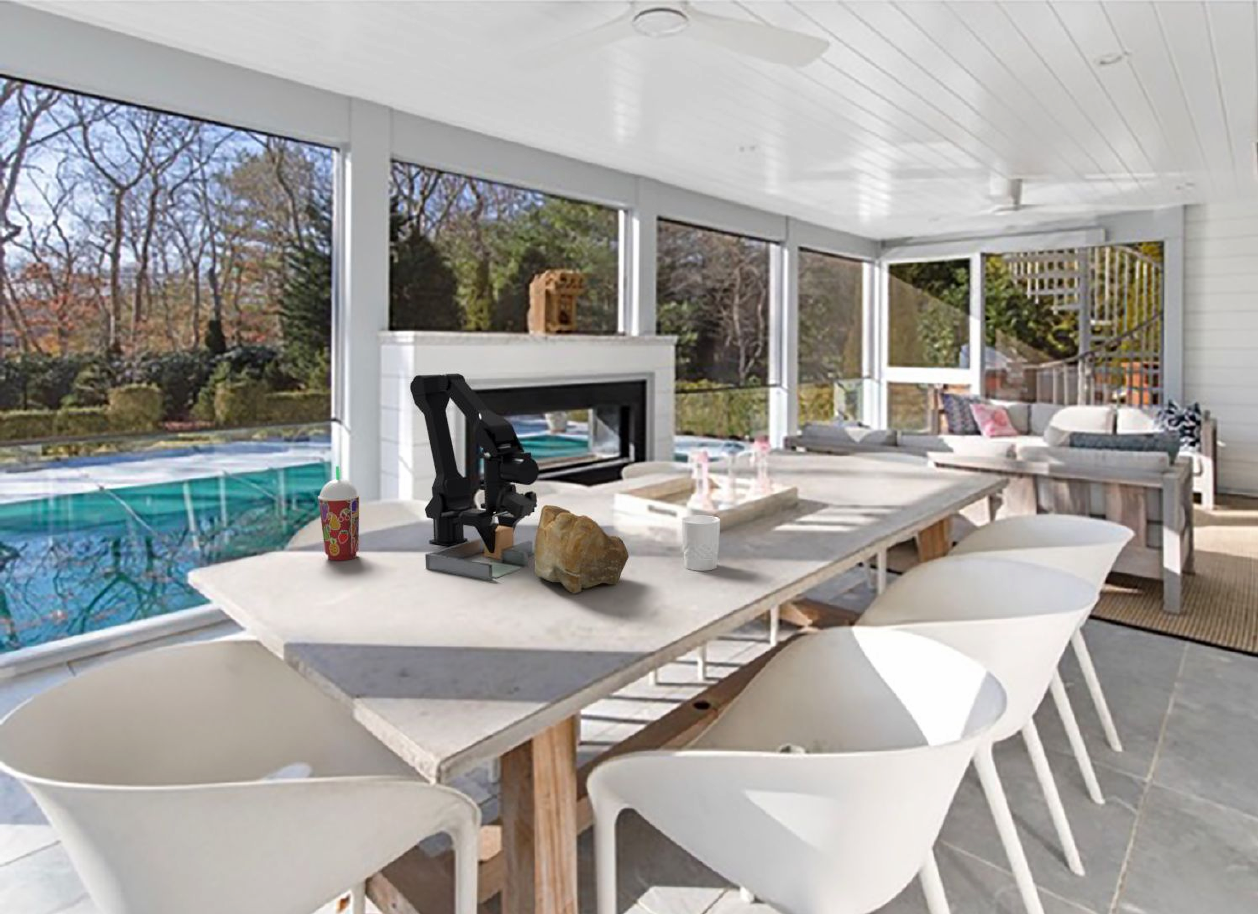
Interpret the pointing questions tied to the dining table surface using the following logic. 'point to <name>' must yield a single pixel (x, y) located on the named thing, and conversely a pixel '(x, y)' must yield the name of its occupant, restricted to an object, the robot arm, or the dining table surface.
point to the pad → (502, 569)
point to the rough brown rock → (576, 551)
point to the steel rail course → (454, 564)
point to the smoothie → (340, 518)
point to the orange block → (501, 541)
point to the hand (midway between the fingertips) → (499, 550)
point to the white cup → (700, 542)
